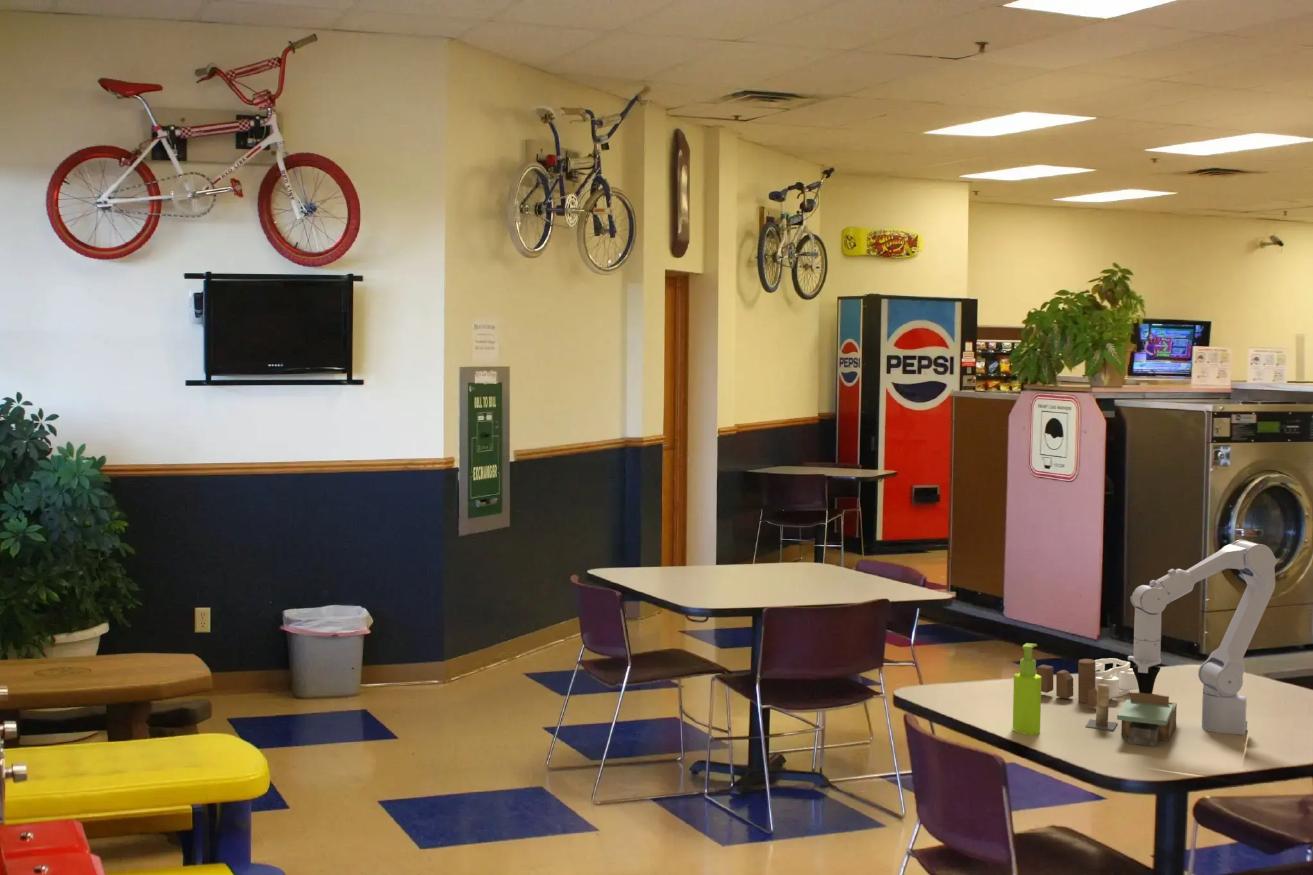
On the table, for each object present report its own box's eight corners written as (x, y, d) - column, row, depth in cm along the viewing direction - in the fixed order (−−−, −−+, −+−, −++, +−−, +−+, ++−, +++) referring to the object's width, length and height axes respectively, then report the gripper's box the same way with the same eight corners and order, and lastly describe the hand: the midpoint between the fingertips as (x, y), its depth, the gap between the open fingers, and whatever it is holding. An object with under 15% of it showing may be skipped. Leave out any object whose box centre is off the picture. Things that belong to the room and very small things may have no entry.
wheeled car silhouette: (1108, 705, 321) (1108, 675, 321) (1066, 696, 329) (1067, 667, 329) (1147, 692, 335) (1147, 663, 335) (1106, 684, 343) (1107, 656, 343)
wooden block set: (1032, 698, 327) (1032, 658, 326) (1050, 690, 333) (1050, 650, 332) (1099, 714, 314) (1099, 672, 313) (1117, 705, 320) (1117, 664, 319)
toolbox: (1176, 724, 303) (1176, 702, 303) (1166, 747, 284) (1167, 724, 283) (1130, 718, 308) (1130, 697, 308) (1117, 741, 288) (1118, 719, 288)
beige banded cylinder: (1110, 724, 301) (1111, 685, 300) (1103, 726, 299) (1105, 686, 299) (1100, 722, 303) (1101, 683, 302) (1093, 723, 301) (1095, 684, 301)
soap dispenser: (1044, 731, 296) (1046, 643, 295) (1036, 738, 290) (1038, 648, 289) (1017, 727, 299) (1020, 640, 298) (1009, 734, 293) (1011, 645, 292)
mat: (1117, 724, 303) (1117, 722, 303) (1113, 731, 297) (1113, 729, 297) (1090, 721, 306) (1090, 719, 305) (1085, 727, 299) (1085, 726, 299)
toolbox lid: (1173, 709, 296) (1173, 695, 296) (1166, 725, 282) (1166, 711, 282) (1126, 703, 300) (1126, 690, 300) (1117, 719, 286) (1117, 705, 286)
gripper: (1132, 631, 307) (1131, 689, 308) (1124, 642, 294) (1122, 703, 295) (1165, 634, 304) (1163, 693, 305) (1158, 645, 291) (1156, 706, 292)
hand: (1145, 698), depth 299 cm, fingers closed
